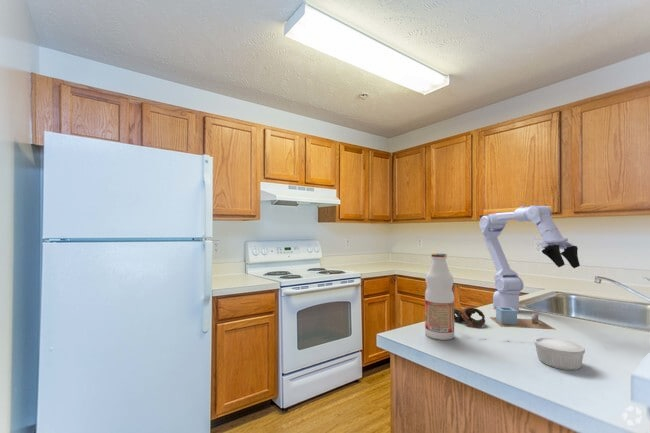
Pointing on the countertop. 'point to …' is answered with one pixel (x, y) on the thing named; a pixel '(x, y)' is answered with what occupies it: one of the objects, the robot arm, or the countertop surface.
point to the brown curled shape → (469, 317)
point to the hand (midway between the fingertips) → (569, 266)
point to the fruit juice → (439, 300)
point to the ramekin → (559, 353)
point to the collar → (506, 315)
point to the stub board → (526, 323)
